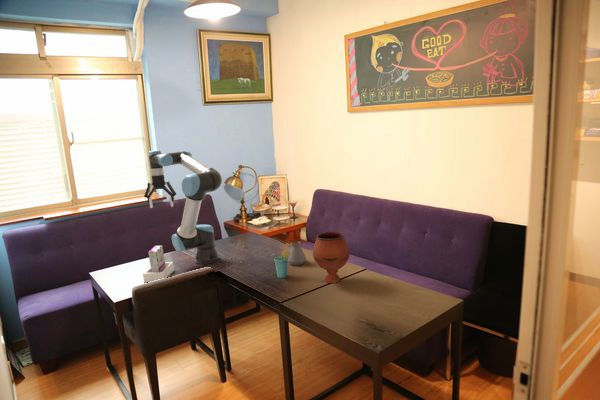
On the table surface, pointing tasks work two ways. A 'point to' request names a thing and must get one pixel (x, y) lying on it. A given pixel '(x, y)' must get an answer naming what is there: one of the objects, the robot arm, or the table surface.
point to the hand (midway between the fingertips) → (161, 207)
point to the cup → (281, 264)
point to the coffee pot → (295, 253)
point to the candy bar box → (157, 259)
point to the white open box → (158, 273)
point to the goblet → (331, 254)
